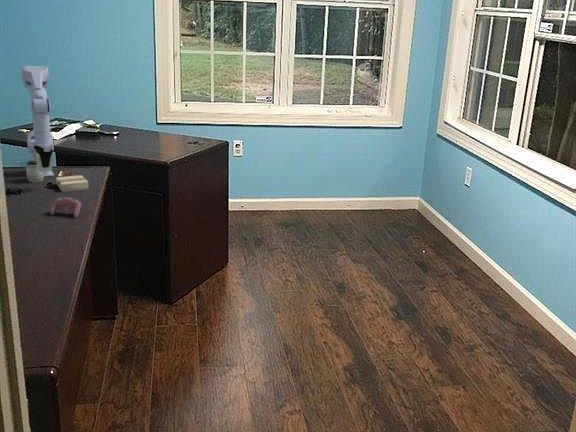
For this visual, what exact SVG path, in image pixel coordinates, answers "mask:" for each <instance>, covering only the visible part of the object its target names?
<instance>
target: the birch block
mask: <svg viewBox="0 0 576 432" xmlns="http://www.w3.org/2000/svg"><path fill="white" fill-rule="evenodd" d="M55 181H56V183H55V184H57V185H56V186H57V187H58V188H59V189H60V191H61V192H62V193H66V192H76V191H85V190H86V191H87V190H90V188H89V187H90V186H89V181H88V180H87V179H86V178H85V177H84V176H83V175H82V174H81V175H69V176H57V177H55Z"/></svg>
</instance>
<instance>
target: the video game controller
mask: <svg viewBox="0 0 576 432" xmlns="http://www.w3.org/2000/svg"><path fill="white" fill-rule="evenodd" d="M66 207H69V208H68V209H67V208H66ZM81 208H82V202H81V201H79V200H78V199H75V198H72V197H67V196H66V197H65V196H64V197H58V198H56V199H55V200H54V202H52V205H51V207H50V212H49V213H50V216H54V215H55V214H56V213H57V211H58V212H59V213H60V214H65V213H66V212H67V213H68V215H73V217H74V218H75V219H77V218H78V216H79V214H80V212H81Z"/></svg>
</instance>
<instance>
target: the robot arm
mask: <svg viewBox="0 0 576 432" xmlns="http://www.w3.org/2000/svg"><path fill="white" fill-rule="evenodd" d="M20 71H21V79H22V85H23V88H26V89H28V91H29V93H30V112H31V115H32V117H31V118H32V124H33V129H32V130H31V131H29V132H28V133H27V135H26V144H27V152H28V153H29V154H31V156H30V157H31V159H30V161H37V158H36V154H37V153H39V156H40V159H41V163H42V166H43V168H47V167H49V164H50V158H51V159H52V155H53V153H54V152H55V151H54V149H55V148H54V146H55V145H54V139H53V135H52V133H51V124H50V123H51V122H50V114H51V103H50V102H51V101H50V98H49V97H48V93H47V90H46V88H48V86H49V78H50V77H49V76H50V75H49V67H48V66H46V65H45V66H44V65H43V66H41V65H38V66H37V65H21V70H20ZM43 175H44V176H43V177H53V176H55V174H54V172H53V170H52V171H43Z"/></svg>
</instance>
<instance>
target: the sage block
mask: <svg viewBox="0 0 576 432" xmlns="http://www.w3.org/2000/svg"><path fill="white" fill-rule="evenodd" d="M36 158H37V169H38V170H39V172H43V171H52V172H53V164H52V157H51V158H50V164H49V167H47V168H43V166H42V163H41V159H40V156H39V153H37V154H36Z"/></svg>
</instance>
